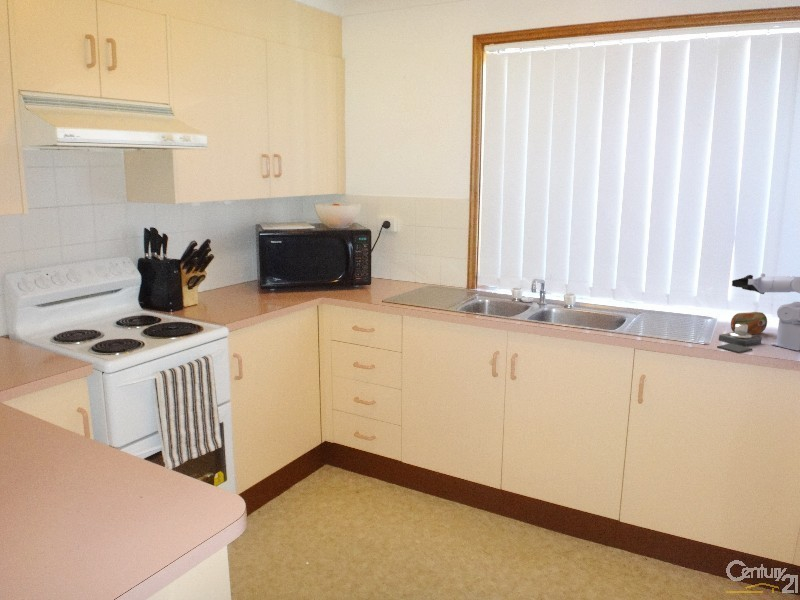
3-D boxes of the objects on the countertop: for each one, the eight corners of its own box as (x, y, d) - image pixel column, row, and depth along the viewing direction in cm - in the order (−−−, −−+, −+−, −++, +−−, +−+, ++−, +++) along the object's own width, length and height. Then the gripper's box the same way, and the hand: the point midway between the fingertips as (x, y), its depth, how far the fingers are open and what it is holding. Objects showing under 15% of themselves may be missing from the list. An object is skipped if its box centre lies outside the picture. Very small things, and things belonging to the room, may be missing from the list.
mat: (752, 350, 226) (752, 348, 226) (738, 353, 222) (738, 351, 222) (730, 344, 232) (730, 343, 232) (717, 347, 228) (717, 346, 228)
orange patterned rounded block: (734, 335, 246) (736, 314, 244) (727, 333, 249) (730, 312, 247) (766, 333, 250) (769, 312, 248) (760, 331, 253) (762, 310, 251)
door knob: (755, 342, 236) (757, 325, 234) (743, 344, 232) (745, 328, 231) (736, 337, 242) (738, 321, 240) (724, 340, 238) (726, 323, 237)
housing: (761, 343, 235) (761, 337, 235) (744, 346, 230) (745, 341, 230) (734, 336, 244) (735, 331, 243) (718, 340, 239) (719, 334, 238)
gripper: (786, 276, 237) (748, 277, 248) (767, 270, 228) (728, 271, 239) (784, 295, 236) (746, 295, 247) (765, 290, 228) (727, 290, 239)
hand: (737, 284), depth 243 cm, fingers open, 7 cm apart
